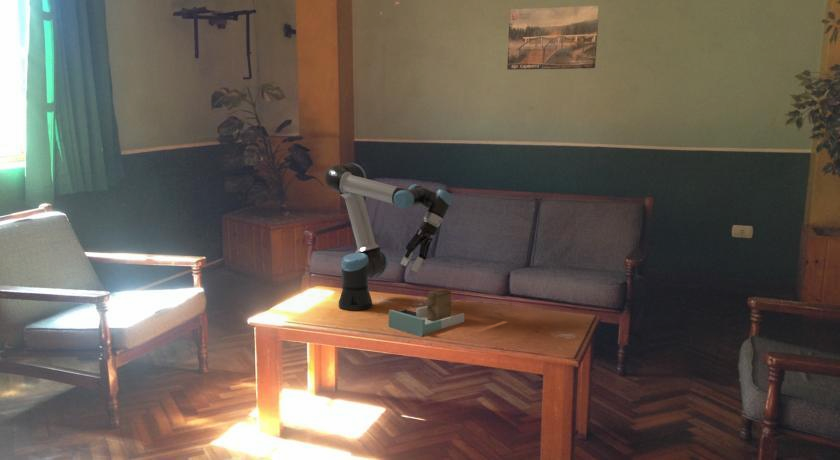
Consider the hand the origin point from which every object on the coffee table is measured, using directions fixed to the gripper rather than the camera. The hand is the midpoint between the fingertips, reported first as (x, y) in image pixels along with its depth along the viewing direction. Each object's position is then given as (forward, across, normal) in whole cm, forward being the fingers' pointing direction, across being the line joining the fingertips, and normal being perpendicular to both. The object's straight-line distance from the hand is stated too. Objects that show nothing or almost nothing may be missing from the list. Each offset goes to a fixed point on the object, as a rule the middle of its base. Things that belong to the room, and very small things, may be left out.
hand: (408, 268), depth 308 cm
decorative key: (+12, +18, -11) cm, 24 cm away
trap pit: (+20, 0, -8) cm, 22 cm away
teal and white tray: (+18, -4, -21) cm, 27 cm away
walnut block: (+14, +2, -22) cm, 26 cm away
